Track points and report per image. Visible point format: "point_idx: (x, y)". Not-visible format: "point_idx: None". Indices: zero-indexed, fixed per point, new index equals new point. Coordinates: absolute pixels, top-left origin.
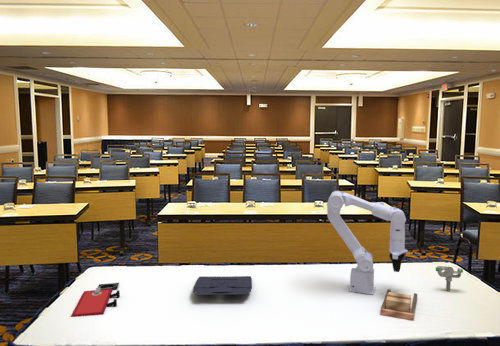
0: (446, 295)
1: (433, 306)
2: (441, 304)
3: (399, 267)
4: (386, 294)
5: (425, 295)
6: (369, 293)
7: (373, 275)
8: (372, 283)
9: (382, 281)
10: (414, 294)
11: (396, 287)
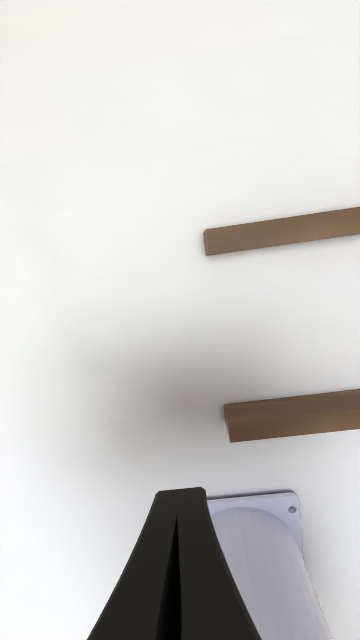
0: (4, 28)
1: (298, 85)
2: (225, 31)
3: (223, 557)
4: (339, 426)
5: (107, 189)
6: (299, 512)
7: (274, 638)
8: (270, 561)
9: (29, 494)
10: (235, 246)
11: (78, 399)
